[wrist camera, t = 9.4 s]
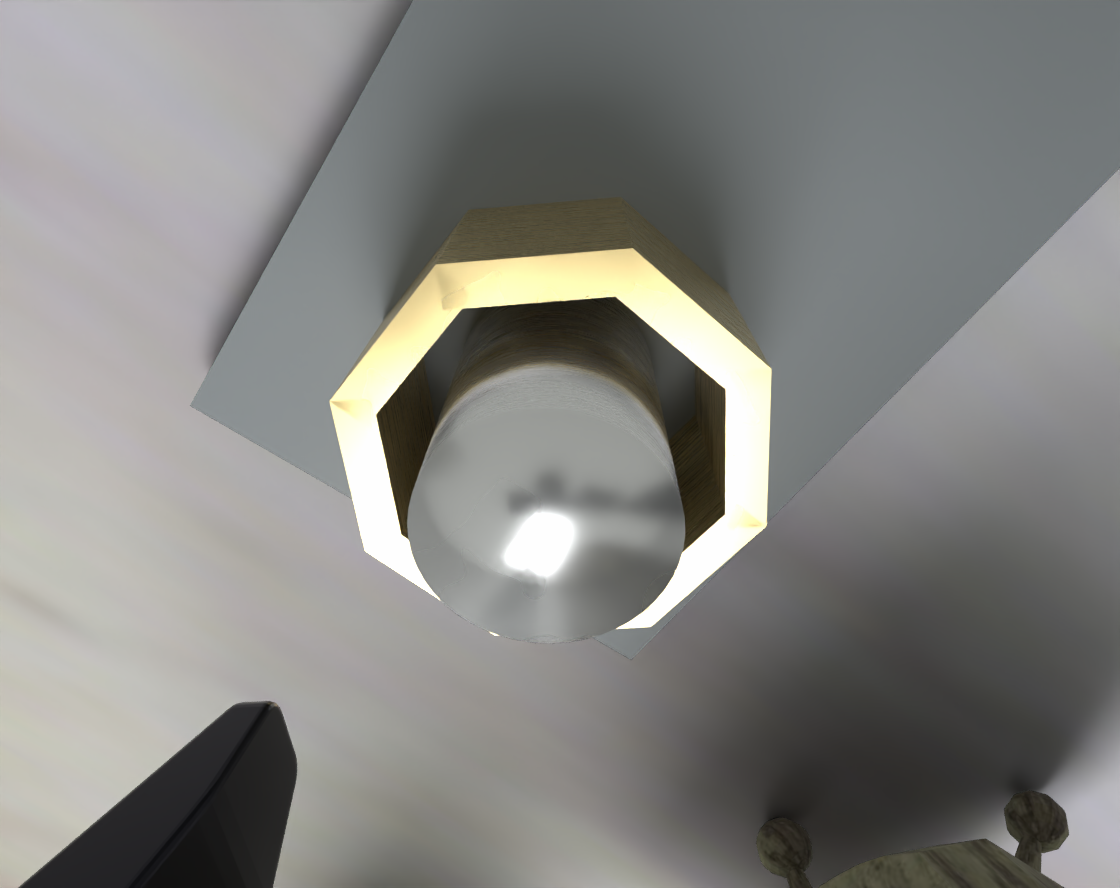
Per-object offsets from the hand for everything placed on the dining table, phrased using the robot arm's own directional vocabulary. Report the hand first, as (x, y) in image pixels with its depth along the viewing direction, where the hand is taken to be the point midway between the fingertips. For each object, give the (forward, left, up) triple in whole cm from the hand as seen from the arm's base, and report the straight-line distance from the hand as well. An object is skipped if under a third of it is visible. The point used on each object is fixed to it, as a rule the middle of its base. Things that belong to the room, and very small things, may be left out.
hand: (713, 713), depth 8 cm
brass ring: (+2, 0, -10) cm, 10 cm away
